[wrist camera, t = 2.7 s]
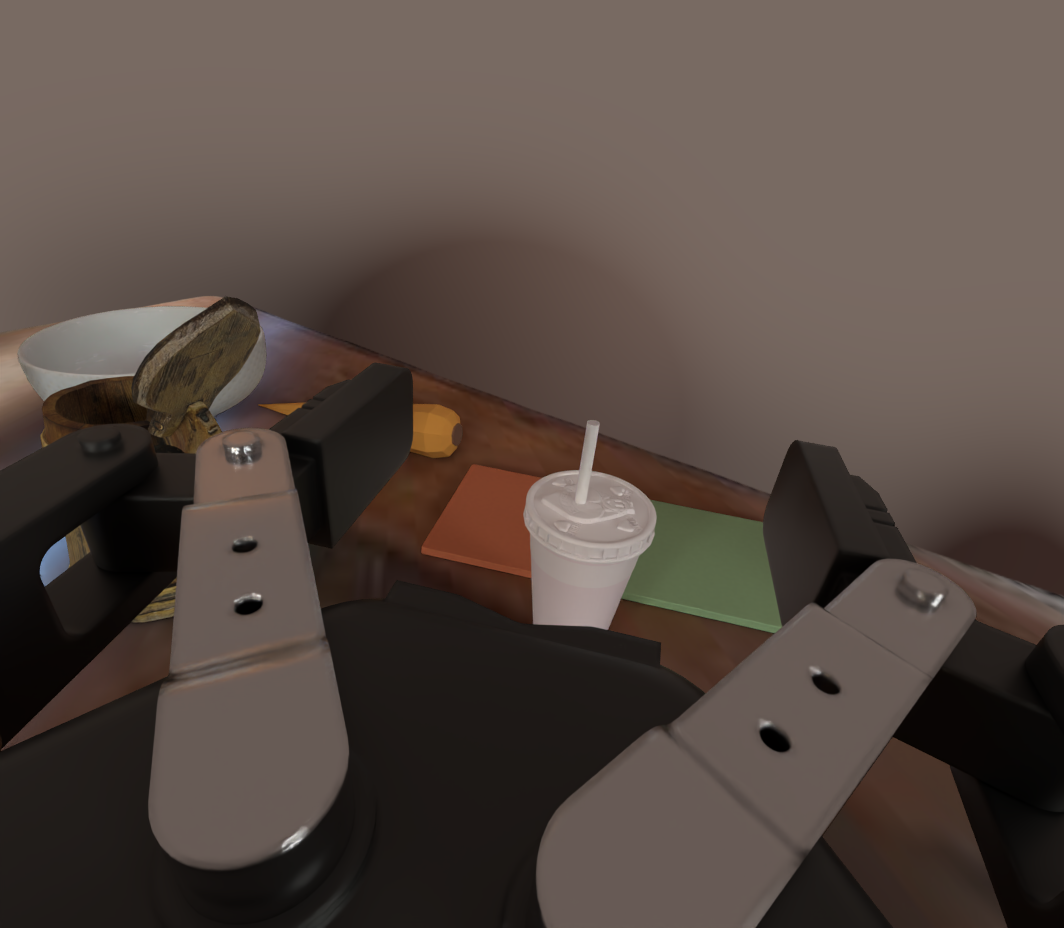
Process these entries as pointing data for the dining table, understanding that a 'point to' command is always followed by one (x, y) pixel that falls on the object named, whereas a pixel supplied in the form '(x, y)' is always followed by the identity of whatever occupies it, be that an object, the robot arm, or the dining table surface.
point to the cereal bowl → (119, 351)
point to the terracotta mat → (485, 522)
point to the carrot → (418, 428)
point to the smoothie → (584, 541)
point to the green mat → (707, 568)
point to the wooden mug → (162, 399)
